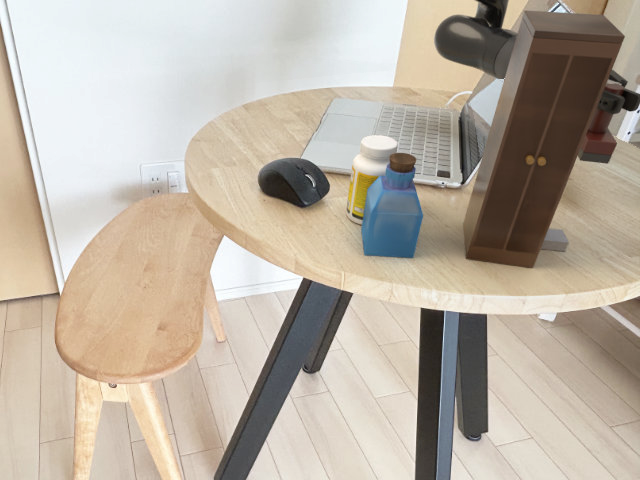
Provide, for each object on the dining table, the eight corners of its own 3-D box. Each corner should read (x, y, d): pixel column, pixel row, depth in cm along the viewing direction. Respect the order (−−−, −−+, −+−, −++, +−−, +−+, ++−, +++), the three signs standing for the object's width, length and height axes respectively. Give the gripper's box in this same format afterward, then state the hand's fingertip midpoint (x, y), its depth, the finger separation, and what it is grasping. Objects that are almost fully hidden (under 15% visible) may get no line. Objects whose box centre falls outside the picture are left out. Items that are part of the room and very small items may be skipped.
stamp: (568, 137, 84) (593, 75, 79) (595, 140, 84) (621, 78, 78) (579, 160, 78) (607, 95, 73) (608, 163, 78) (638, 98, 72)
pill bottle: (399, 221, 79) (414, 146, 73) (362, 231, 77) (375, 155, 70) (372, 201, 84) (384, 129, 77) (337, 211, 82) (346, 137, 75)
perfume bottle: (361, 229, 78) (374, 146, 70) (407, 232, 77) (425, 148, 70) (364, 255, 73) (378, 168, 65) (413, 258, 72) (433, 171, 65)
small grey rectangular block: (537, 227, 76) (533, 236, 77) (542, 239, 73) (539, 249, 74) (562, 229, 75) (559, 238, 76) (569, 242, 73) (565, 251, 74)
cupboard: (463, 223, 79) (524, 10, 62) (524, 231, 78) (603, 14, 61) (466, 261, 72) (536, 31, 55) (533, 271, 70) (627, 37, 53)
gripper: (504, 44, 82) (600, 81, 70) (578, 36, 86) (682, 70, 74) (489, 96, 87) (576, 140, 74) (560, 86, 91) (655, 126, 78)
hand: (628, 105), depth 74 cm, fingers closed on stamp, 2 cm apart
